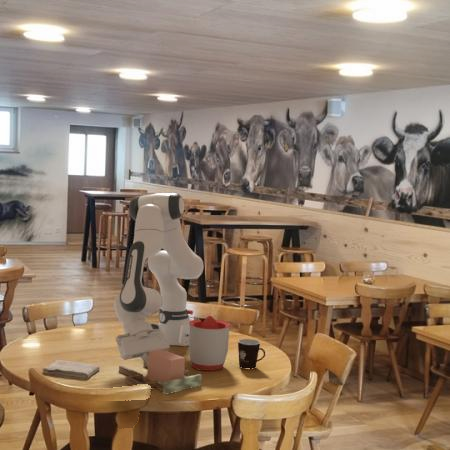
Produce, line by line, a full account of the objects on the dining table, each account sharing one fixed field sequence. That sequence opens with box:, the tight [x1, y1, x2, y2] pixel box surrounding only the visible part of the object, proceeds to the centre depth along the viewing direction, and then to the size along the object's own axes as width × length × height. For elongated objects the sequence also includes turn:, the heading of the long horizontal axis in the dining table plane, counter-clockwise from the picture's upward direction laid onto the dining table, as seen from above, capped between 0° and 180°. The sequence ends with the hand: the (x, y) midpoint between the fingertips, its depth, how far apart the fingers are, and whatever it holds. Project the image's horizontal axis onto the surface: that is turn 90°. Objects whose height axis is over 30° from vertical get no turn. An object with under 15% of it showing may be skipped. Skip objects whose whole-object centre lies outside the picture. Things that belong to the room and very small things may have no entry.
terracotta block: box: [146, 349, 186, 382], centre depth 239 cm, size 6×13×10 cm, turn 44°
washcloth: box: [42, 359, 101, 380], centre depth 245 cm, size 12×18×3 cm, turn 79°
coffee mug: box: [237, 338, 266, 370], centre depth 262 cm, size 12×9×10 cm
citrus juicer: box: [188, 315, 231, 371], centre depth 261 cm, size 16×17×20 cm
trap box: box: [118, 361, 202, 395], centre depth 243 cm, size 24×29×4 cm
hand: (152, 365), depth 244 cm, fingers closed, pressing on terracotta block
